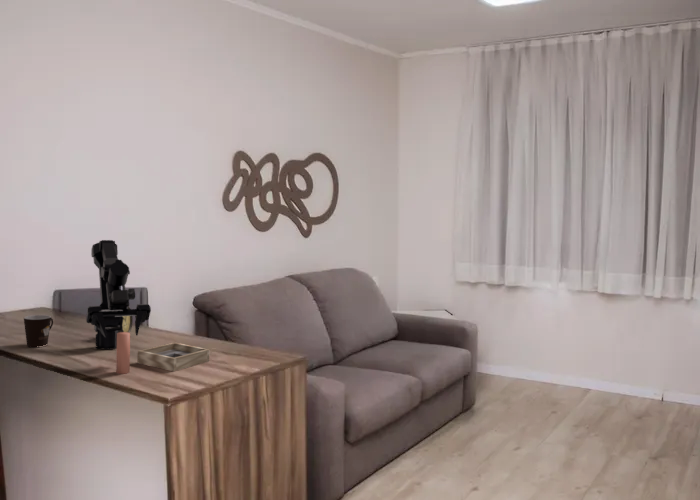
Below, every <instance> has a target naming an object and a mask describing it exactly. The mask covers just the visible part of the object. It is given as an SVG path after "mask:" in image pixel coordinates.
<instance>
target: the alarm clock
mask: <svg viewBox="0 0 700 500" xmlns="http://www.w3.org/2000/svg"><path fill="white" fill-rule="evenodd" d="M128 309H131V308H130V306H129V307H128ZM122 317H123V325H122V330H121V331H119V330H118V333H120V332H129V333H130V334H131V332H132V328H133V317H134V316H122Z"/></svg>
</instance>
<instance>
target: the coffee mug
mask: <svg viewBox="0 0 700 500" xmlns="http://www.w3.org/2000/svg"><path fill="white" fill-rule="evenodd" d="M23 323H24V331H25V339H26V347H27V346H28V347H27V348H31V347H37V346H43V345H46V344H48V343H49V335H50V331H51V329H52V328H53V325H54V319H53V318H52V316H51V315H46V314H35V315H34V314H33V315H26V316H24V317H23Z"/></svg>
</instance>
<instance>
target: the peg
mask: <svg viewBox="0 0 700 500" xmlns="http://www.w3.org/2000/svg"><path fill="white" fill-rule="evenodd" d="M130 354H131V332H130V333H129V332H120V333H117V347H116V357H115V359H116V362H115V366H116V367H115V369H116V370H115V371H116V374H117V375H127V374H129V373H130V366H131V365H130V364H131V362H130V361H131V359H130V358H131V355H130Z"/></svg>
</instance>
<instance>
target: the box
mask: <svg viewBox="0 0 700 500" xmlns="http://www.w3.org/2000/svg"><path fill="white" fill-rule="evenodd" d="M210 351H211V349H209V348H204V347H200V346H194V345H188V344H186V343H185V344H184V343H180V342H176V341H175V342H170V343H167V344H162V345H161V344H160V345H157V346H153V347H150V348H149V347H148V348H144V349H140V350H137V364H140V365H145V366H148V367H153V368H158V369H162V370H165V371H171V372H177V371H180V370H184V369H186V368H190V367H194V366H197V365H201V364H205V363H208V362H210Z"/></svg>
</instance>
